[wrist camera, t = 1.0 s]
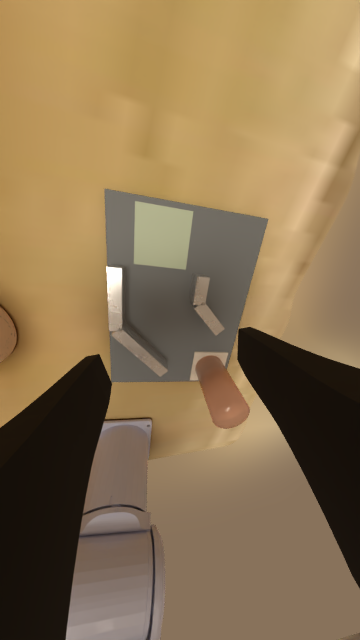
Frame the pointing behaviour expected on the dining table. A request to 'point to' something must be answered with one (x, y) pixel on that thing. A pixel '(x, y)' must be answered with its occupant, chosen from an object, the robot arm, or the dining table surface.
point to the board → (178, 279)
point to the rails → (131, 337)
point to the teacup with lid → (6, 335)
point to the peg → (221, 393)
